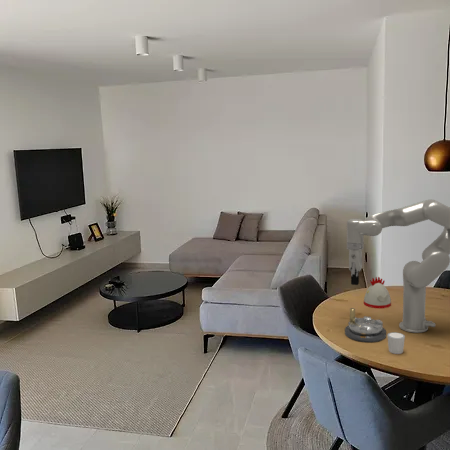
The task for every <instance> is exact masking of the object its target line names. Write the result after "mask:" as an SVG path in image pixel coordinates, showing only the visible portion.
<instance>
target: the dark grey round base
mask: <svg viewBox="0 0 450 450" xmlns="http://www.w3.org/2000/svg"><path fill="white" fill-rule="evenodd" d="M344 335H345V336H346V338H348V339H350V340H352V341H355V342H360V343H367V344H368V343H378V342H382V341H383V340H385V339H386V338H387V330H386V329H385V327H383V331H382V333H381V334H379V335H375V336H361V335H357V334H354V333H352V332H350V331H349V324H347V325H346V326H345V328H344Z"/></svg>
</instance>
